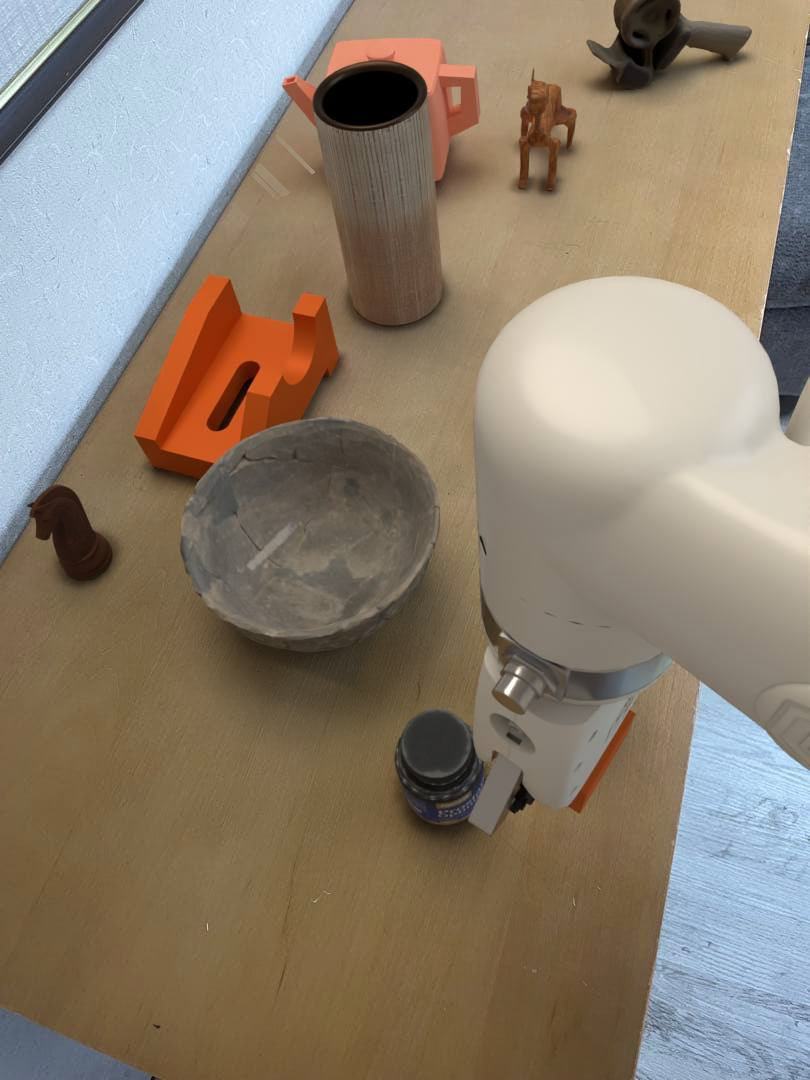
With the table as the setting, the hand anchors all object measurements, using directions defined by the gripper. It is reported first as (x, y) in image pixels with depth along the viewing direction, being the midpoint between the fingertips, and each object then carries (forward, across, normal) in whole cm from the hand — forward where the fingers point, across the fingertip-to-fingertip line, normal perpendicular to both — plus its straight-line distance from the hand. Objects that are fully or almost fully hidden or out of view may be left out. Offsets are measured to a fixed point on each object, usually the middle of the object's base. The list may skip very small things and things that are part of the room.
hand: (555, 741), depth 46 cm
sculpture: (+20, +88, +35) cm, 96 cm away
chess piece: (+20, -3, +46) cm, 50 cm away
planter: (+20, +39, +41) cm, 60 cm away
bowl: (+20, +8, +26) cm, 33 cm away
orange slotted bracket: (+20, +18, +45) cm, 52 cm away
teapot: (+20, +56, +55) cm, 81 cm away
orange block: (0, 0, 0) cm, 0 cm away
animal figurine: (+20, +67, +40) cm, 80 cm away
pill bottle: (+20, -2, +7) cm, 21 cm away
